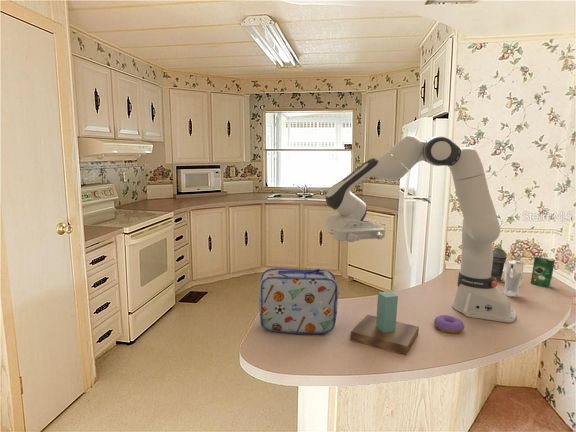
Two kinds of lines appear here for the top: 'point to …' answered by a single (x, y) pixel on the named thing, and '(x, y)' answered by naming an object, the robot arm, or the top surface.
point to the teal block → (386, 311)
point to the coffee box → (542, 271)
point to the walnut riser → (385, 335)
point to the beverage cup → (498, 263)
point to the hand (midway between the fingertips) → (369, 237)
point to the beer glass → (512, 277)
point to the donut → (449, 324)
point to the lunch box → (298, 300)
